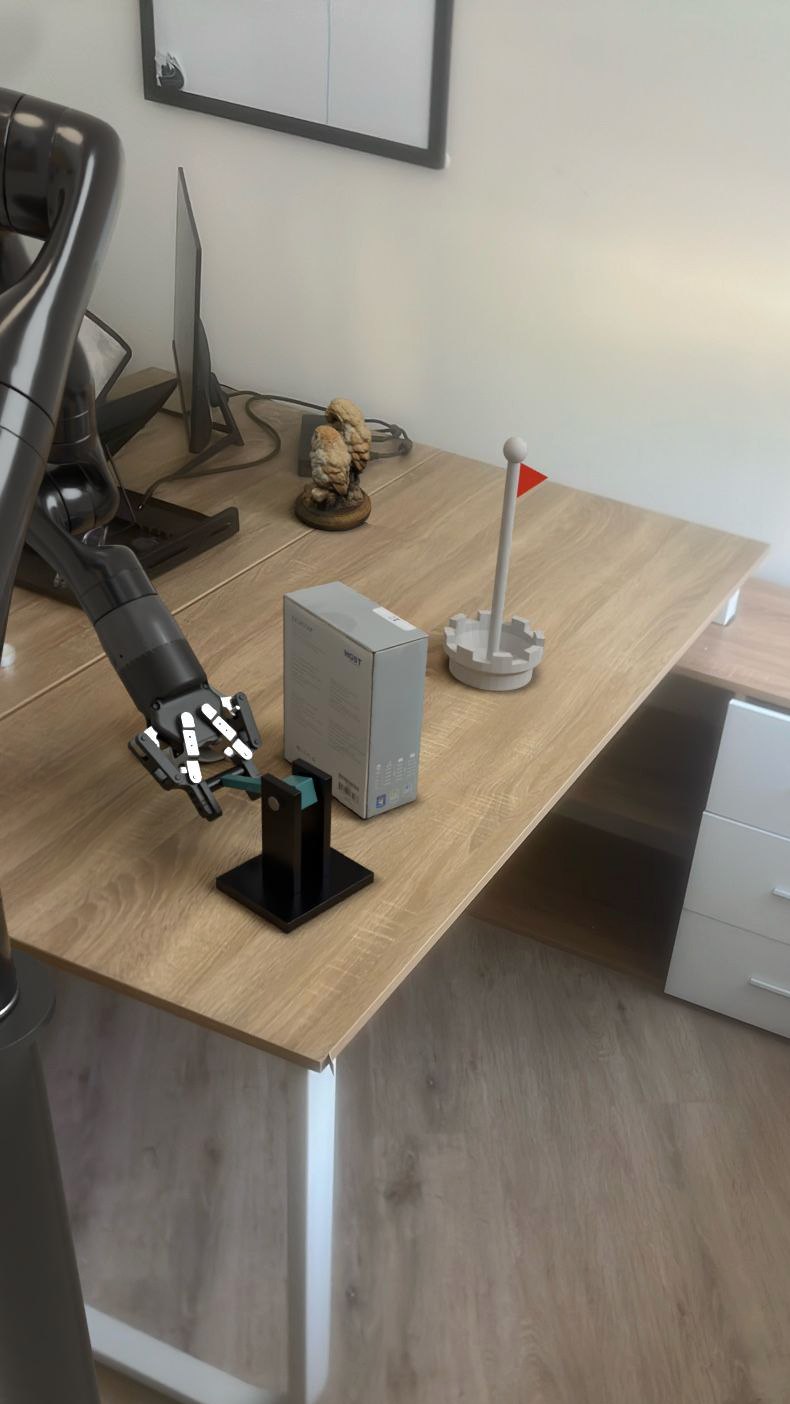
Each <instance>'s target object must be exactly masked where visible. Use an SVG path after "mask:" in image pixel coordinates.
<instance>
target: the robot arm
mask: <svg viewBox="0 0 790 1404" xmlns="http://www.w3.org/2000/svg"><path fill="white" fill-rule="evenodd" d="M125 153H126V152H125V149H124V146H123V142H122V139H121V137H120V135H119V134H118V132H117V130H116V129H115V128H114V127H113V126H112V125H111V124H110V123H108V122H107V121H105V120H103V119H102V118H100V117H97V116H95V115H93V114H91V113H88V112H86V111H82V110H79V109H76V108H73V107H70V106H66V105H64V104H61V103H57V102H53V101H51V100H47V99H44V98H40V97H38V96H34V95H31V94H28V93H25V92H22V91H18V90H15V89H12V88H7V87H3V86H0V667H1V665H2V659H3V652H4V647H5V639H6V634H7V629H8V623H9V622H8V621H9V615H10V611H11V603H12V599H13V594H14V589H15V584H16V579H17V575H18V570H19V566H20V562H21V558H22V554H23V550H24V546H25V544H26V543H27V544H28V545H29V546H30V547H31V548H32V549H33V550H34V551H35V552H36V553H37V554H38V555H39V556H40V557H41V558H42V559H43V560H44V561H45V562H46V563H47V564H48V565H49V566H50V567H51V568H52V569H53V570H54V571H55V573H56V575H58V576H59V577H60V578H61V580H63V582H64V583H65V584H66V585H67V586H68V587H69V589H70V591H71V592H72V594H73V595H74V596H75V598H76V600H77V601H78V603H79V605H80V607H81V608H82V611H84V613H85V616H86V617H87V618H88V620H89V622H90V624H91V626H92V627H93V629H94V631H95V634H96V635H97V638H98V641H99V643H100V646H101V648H102V650H103V652H104V654H105V656H106V657H107V659H108V660H109V663H110V665H111V666H112V668H113V669H114V671H115V672H116V675H117V676H118V678H119V680H120V681H121V683H122V685H123V687H124V688H125V690H126V692H127V694H128V695H129V698H130V699H131V700H132V703H133V704H134V706H135V708H136V710H137V711H138V712H139V713H141V714H142V715H143V716H144V719H145V725H146V728H147V730H145V729H144V730H145V731H144V730H143V731H144V732H143V731H140V732H138V733H137V734H136V735H135V736H134V737H133V738H131V739H130V740H129V741H127V745H126V746H127V749H128V750H129V751H130V752H131V754H132V755H133V756H134V757H135V758H136V760H137V761H138V762H139V763H140V764H141V765H142V766H143V768H144V769H145V770H146V771H147V772H148V774H149V775H150V776H151V777H152V778H153V779H154V781H155V782H156V783H157V784H158V785H159V786H160V787H161V788H162V790H164V791H166V792H170V791H172V790H182V791H184V792H185V793H186V794H187V796H188V798H189V800H190V801H191V803H192V805H193V806H194V808H195V810H196V812H197V814H198V815H199V817H201V818H202V819H203V820H204V819H205V820H206V821H207V822H208V823H212V822H214V821H216V820H218V819H220V818H221V817H223V814H224V813H223V810H222V808H221V806H220V804H219V803H218V801H217V799H216V797H215V796H214V794H213V793H212V792H211V790H210V789H209V787H208V785H207V783H206V782H205V781H204V782H201V781H202V773H201V768H200V764H199V761H198V759H199V751H198V748H201V747H206V746H209V747H210V748H211V749H212V750H213V751H214V752H216V753H220V754H221V755H222V756H223V757H224V758H223V759H225V760H226V761H228V763H229V764H231V766H232V767H233V766H235V765H238V764H240V765H242V766H243V767H244V769H245V772H246V776H245V777H251V778H257V779H261V776H262V775H261V773H260V771H259V769H258V767H257V766H256V764H255V762H254V760H253V755H254V754H255V753H256V752H257V750H258V749H260V748H262V746H263V739H262V738H261V735H260V732H259V728H258V726H257V723H256V720H255V717H254V714H253V711H252V708H251V706H250V703H249V700H248V697H247V695H246V693H244V692H243V691H238V692H237V693H235V694H233V695H231V696H227V697H222V698H220V696H219V695H217V694H216V693H215V692H214V691H213V690H212V689H211V688H210V686H209V684H210V683H209V680H208V675H207V673H206V671H205V670H204V668H203V666H202V664H201V662H200V661H199V659H198V656H196V653H195V652H194V650H193V648H192V647H191V645H190V643H189V641H188V639H187V638H186V636H185V634H184V632H183V631H182V629H181V627H180V625H179V623H178V621H177V620H176V618H175V616H174V615H173V613H172V612H171V610H170V609H169V608H168V606H166V604H165V603H164V601H163V600H162V598H161V597H160V595H159V593H158V591H157V590H156V588H155V586H154V584H153V583H152V581H151V579H150V577H149V575H148V574H147V572H146V570H145V568H144V567H143V565H142V563H141V562H140V559H139V557H138V556H137V555H136V554H135V552H134V550H132V549H131V548H130V547H128V546H126V545H124V544H108V545H90V544H86V543H84V542H82V541H81V540H79V538H77V537H75V536H78V535H81V534H84V533H86V532H89V531H92V530H95V529H97V528H101V527H103V526H105V525H107V524H109V523H110V522H111V521H112V520H113V519H114V518H115V517H116V514H117V512H118V510H119V507H120V503H121V496H120V491H119V487H118V484H117V481H116V479H115V477H114V475H113V472H112V470H111V468H110V465H109V463H108V460H107V457H106V454H105V452H104V448H103V445H102V441H101V438H100V435H99V431H98V423H97V422H98V420H97V419H98V418H97V398H96V384H95V383H96V382H95V376H94V375H95V374H94V370H93V366H92V363H91V360H90V357H89V355H88V352H87V349H86V347H85V346H84V344H83V341H82V340H81V337H80V336H79V334H80V331H81V328H82V324H83V321H84V318H85V315H86V312H87V310H88V306H89V303H90V301H91V298H92V295H93V292H94V289H95V286H96V284H97V281H98V279H99V275H100V273H101V270H102V267H103V265H104V262H105V260H106V259H105V258H106V256H107V253H108V250H109V248H110V244H111V242H112V239H113V235H114V233H115V230H116V226H117V223H118V219H119V215H120V212H121V208H122V202H123V197H124V191H125V185H126V167H127V166H126V154H125ZM26 237H28V238H32V239H35V240H39V241H42V242H43V244H42V246H41V247H40V250H39V251H38V253H37V255H36V257H35V259H34V258H33V256H32V253H31V250H30V248H29V244H28V241H27V238H26ZM25 542H26V543H25ZM208 683H209V684H208ZM223 711H224V713H225V717H226V718H230V721H231V724H232V727H233V729H232V728H231V727H230V726H229V725H228V724H227V723H226V722H225V721H224V720H223V719H222V713H223ZM220 735H221V736H222V737H223V738H220ZM160 742H161V743H163V744H165V745H166V746H168V748H169V751H170V756H171V761H170V760H169V759H168V757H167V756H166V755H165V754H164V753H163V752H162V750H163V749H161V748H160ZM244 792H245V794H246V795H247V797H248V799H249V800H250V801H251V802H255V801H257V800H259V799H261V793H256V792H250V791H244ZM9 934H10V933H9V927H8V923H7V918H6V912H5V907H4V901H3V895H2V891H1V888H0V1022H1V1021H3V1020H4V1019H5V1018H6V1017H8V1016H9V1015H10V1014H11V1012H12V1011H13V1010H14V1009H15V1007H16V1005H17V1003H18V1001H19V998H20V987H19V982H18V978H17V975H16V969H15V966H14V961H13V955H12V950H11V947H12V944H11V939H10V935H9Z"/></svg>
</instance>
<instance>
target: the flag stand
mask: <svg viewBox="0 0 790 1404" xmlns="http://www.w3.org/2000/svg"><path fill="white" fill-rule="evenodd" d="M502 447H503V448H502V453H503V456H504V458H505V459H506V461H507V464H506V465H507V466H506V473H505V474H506V475H505V483H504V492H503V499H502V500H503V502H502V510H501V520H500V529H499V538H498V547H497V549H498V550H497V556H496V565H495V574H494V583H493V591H492V601H491V610H487V609H486V610H485V609H483V610H481V609H480V610H479V609H478V610H477V614H476V615H477V616H476V618H467V617H468V616H467V615H465V614H464V613H462V612H461V613H460V612H459V613H457V614H455V615H453V616H451V617H449V620H448V626H444V628H443V638H442V646H443V651H444V653H446V655H447V656H448V657H449V661H448V662H449V663H448V668H449V672H450V673H451V675H452V677H454V678H455V679H456V680H458V681H459V682H461V683H463V684H465V685H468V686H470V687H472V688H477V689H479V690H484V691H485V690H486V691H494V692H504V691H513V690H516V689H520V688H522V687H524V686H526V685H528V683H530V681H531V680H532V676H533V673H534V672H533V670H534V668H535V667H536V666H538V665H539V664H540V663H541V661H542V660H543V656H544V649H545V641H546V638H545V637H546V636H545V634H544V632H543V630H542V629H538V630H537V629H535V630H533V631H532V630H531V623H532V621H531V620H529V619H527V618H524V617H522V616H519V615H516V614H515V615H513V616H512V617H511V621H508V620H503V617H504V607H505V600H506V591H507V582H508V575H509V567H510V566H509V565H510V556H511V550H512V549H511V547H512V541H513V540H512V539H513V533H514V532H513V531H514V521H515V514H516V505H517V499H518V498H520V497H521V496H523V495H524V494H525V493H527V492H529V491H530V490H531V489H533V488H535V487H536V486H538V485H539V484H542V482H544V481H545V480H547V479H548V478H549V477H548V476H547V475H545V474H543V473H541V472H539V471H537V470H536V469H533V468H532V467H530V466H528V465H527V464H525V463H523V461H525V460H526V458H527V457H528V453H529V447H528V444H527V442H526V441H525V439H523V438H521V437H519V436H512V437H510V438H507V440H506V441H505V442H504V444H503V446H502Z"/></svg>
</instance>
